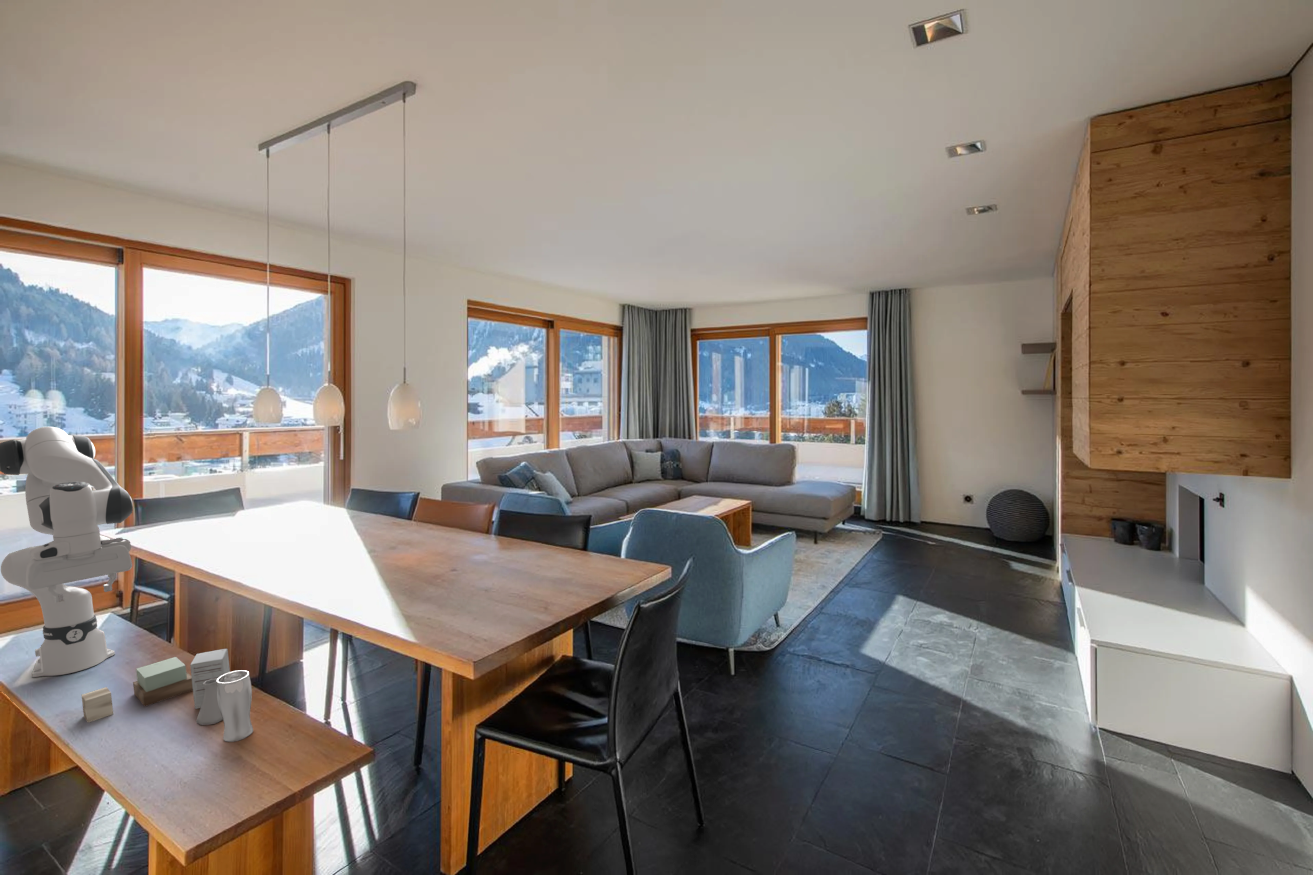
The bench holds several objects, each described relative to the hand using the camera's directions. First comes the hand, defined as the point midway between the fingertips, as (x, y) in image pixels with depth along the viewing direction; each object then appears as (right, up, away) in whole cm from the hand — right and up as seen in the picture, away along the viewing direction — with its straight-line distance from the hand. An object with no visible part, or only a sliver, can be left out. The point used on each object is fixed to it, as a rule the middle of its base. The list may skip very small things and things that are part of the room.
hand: (84, 596), depth 161 cm
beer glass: (+48, -32, -11) cm, 58 cm away
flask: (+36, -31, -3) cm, 48 cm away
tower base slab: (+12, -30, +12) cm, 35 cm away
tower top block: (+12, -27, +11) cm, 31 cm away
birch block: (+4, -31, 0) cm, 32 cm away
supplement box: (+29, -30, +6) cm, 43 cm away
